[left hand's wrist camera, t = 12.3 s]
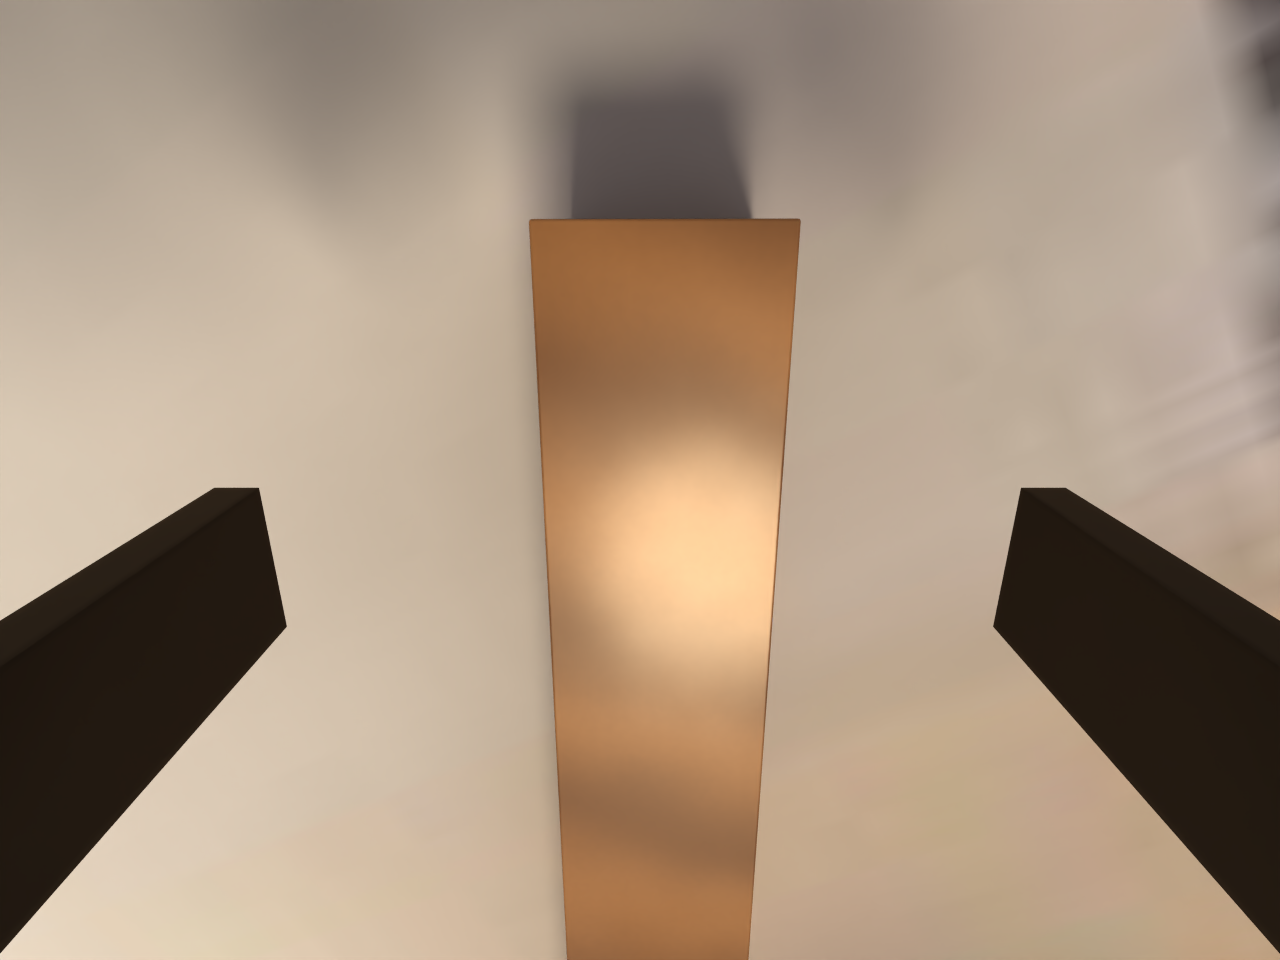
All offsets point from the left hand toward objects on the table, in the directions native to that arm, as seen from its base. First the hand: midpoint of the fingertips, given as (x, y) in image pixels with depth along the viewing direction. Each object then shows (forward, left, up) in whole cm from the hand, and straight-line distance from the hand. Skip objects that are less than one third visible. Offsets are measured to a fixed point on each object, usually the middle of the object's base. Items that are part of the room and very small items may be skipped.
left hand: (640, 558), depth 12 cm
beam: (+26, -18, -13) cm, 34 cm away
